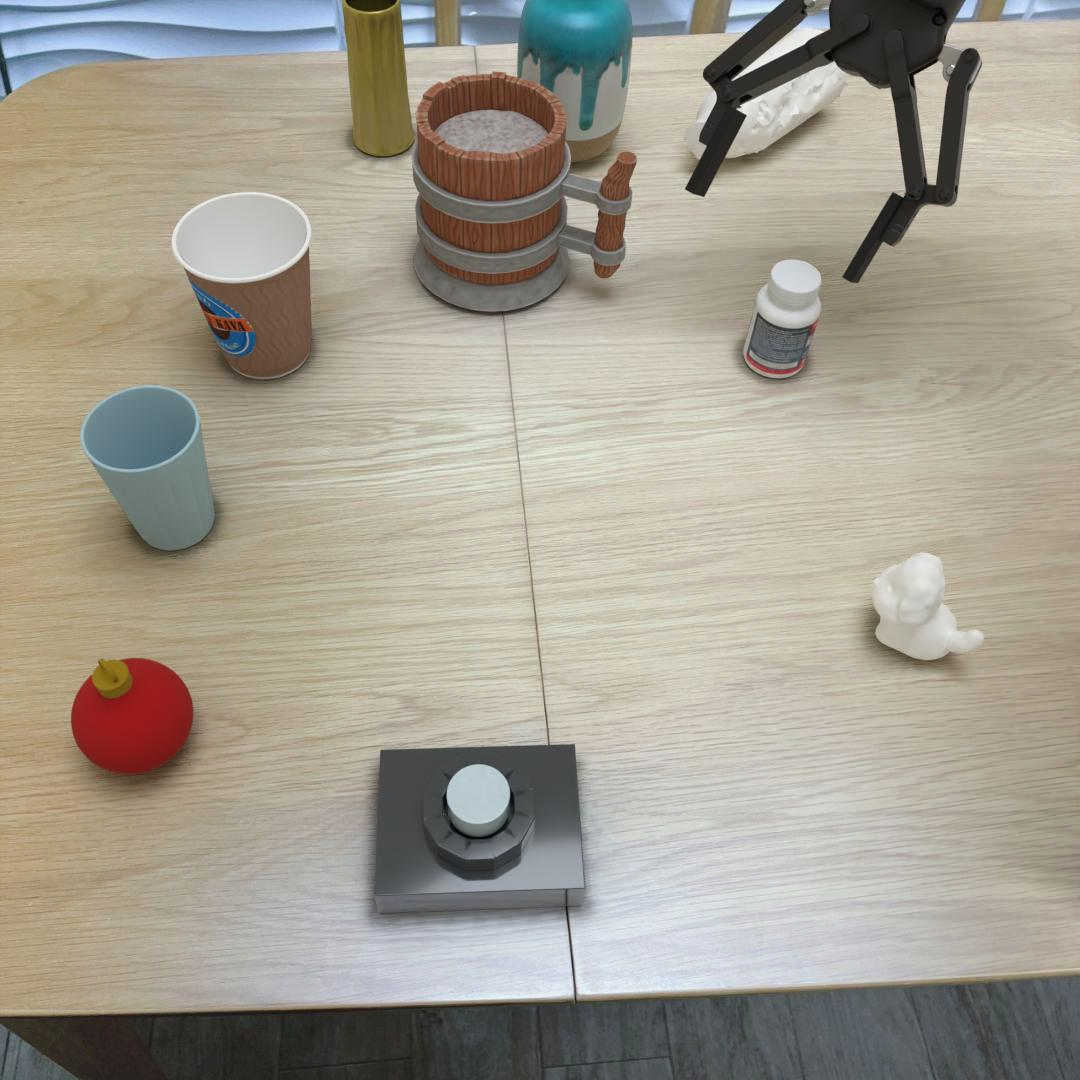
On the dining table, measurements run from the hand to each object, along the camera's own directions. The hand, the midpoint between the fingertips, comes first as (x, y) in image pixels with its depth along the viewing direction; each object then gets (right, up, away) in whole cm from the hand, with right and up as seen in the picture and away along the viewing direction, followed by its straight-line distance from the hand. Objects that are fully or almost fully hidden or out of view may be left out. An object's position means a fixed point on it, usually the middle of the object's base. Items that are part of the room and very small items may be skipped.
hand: (770, 236), depth 81 cm
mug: (-19, +2, +18) cm, 26 cm away
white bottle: (+6, +18, +31) cm, 36 cm away
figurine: (+9, -29, -4) cm, 31 cm away
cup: (-44, -21, 0) cm, 49 cm away
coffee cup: (-40, -7, +11) cm, 42 cm away
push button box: (-21, -41, -13) cm, 48 cm away
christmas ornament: (-42, -36, -10) cm, 56 cm away
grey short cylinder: (-21, -38, -17) cm, 47 cm away
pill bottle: (+3, -7, +12) cm, 14 cm away
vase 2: (-14, +17, +29) cm, 36 cm away
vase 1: (-33, +17, +28) cm, 47 cm away
